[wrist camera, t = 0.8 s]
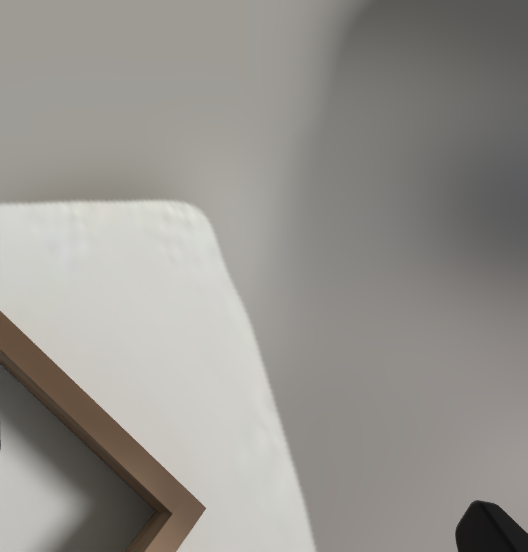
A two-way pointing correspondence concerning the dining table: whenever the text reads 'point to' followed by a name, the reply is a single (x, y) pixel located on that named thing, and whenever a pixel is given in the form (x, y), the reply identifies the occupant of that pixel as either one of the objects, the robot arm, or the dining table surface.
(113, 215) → the dining table surface
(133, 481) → the brown angular open frame
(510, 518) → the robot arm
